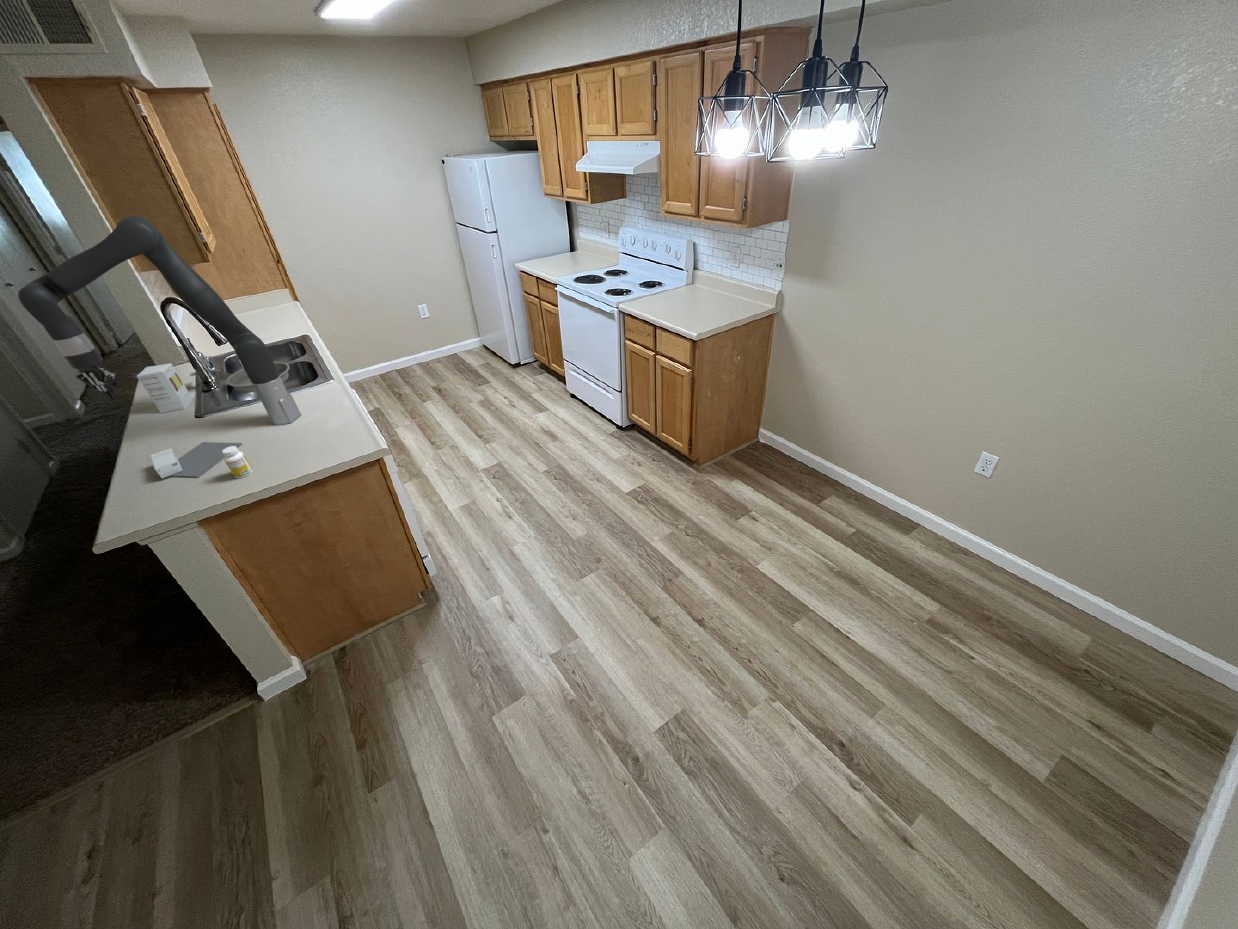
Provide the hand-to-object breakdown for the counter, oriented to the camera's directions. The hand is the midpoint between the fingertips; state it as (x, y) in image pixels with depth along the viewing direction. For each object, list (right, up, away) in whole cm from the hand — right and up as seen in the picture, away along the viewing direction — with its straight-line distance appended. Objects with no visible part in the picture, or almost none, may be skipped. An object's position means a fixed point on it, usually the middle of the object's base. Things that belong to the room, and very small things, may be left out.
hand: (114, 400), depth 166 cm
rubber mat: (+20, -19, +10) cm, 30 cm away
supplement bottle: (+41, -24, +2) cm, 48 cm away
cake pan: (+5, +16, +62) cm, 64 cm away
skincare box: (+8, -18, +9) cm, 22 cm away
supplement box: (-20, +3, +46) cm, 51 cm away
